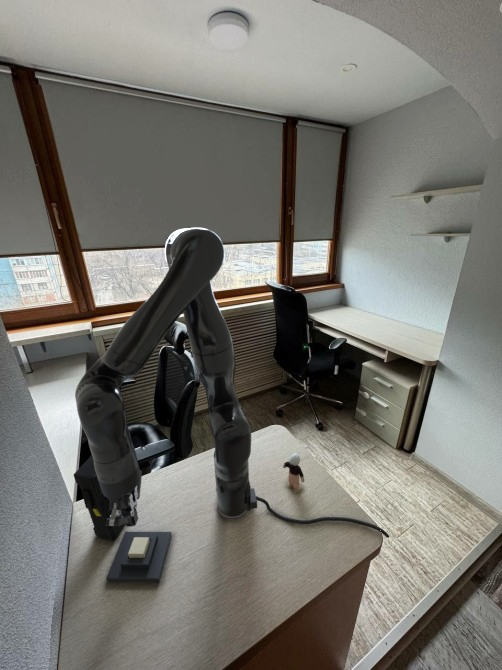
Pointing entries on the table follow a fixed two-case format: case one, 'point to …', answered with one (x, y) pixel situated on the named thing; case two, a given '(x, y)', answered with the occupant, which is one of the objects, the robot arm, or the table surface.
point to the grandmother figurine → (294, 472)
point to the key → (139, 547)
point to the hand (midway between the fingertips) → (132, 522)
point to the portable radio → (96, 501)
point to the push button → (140, 559)
